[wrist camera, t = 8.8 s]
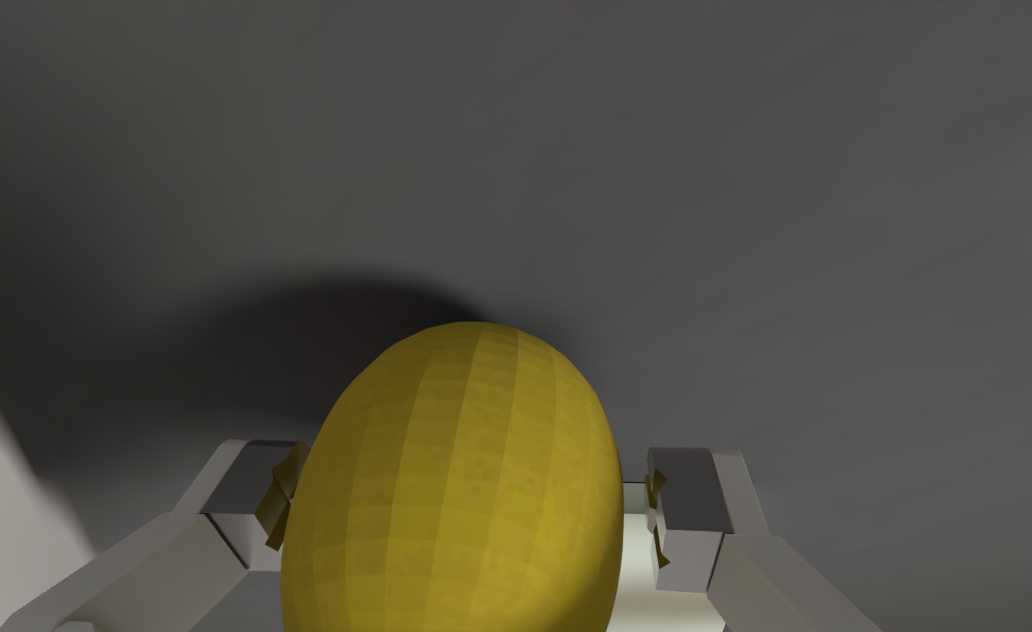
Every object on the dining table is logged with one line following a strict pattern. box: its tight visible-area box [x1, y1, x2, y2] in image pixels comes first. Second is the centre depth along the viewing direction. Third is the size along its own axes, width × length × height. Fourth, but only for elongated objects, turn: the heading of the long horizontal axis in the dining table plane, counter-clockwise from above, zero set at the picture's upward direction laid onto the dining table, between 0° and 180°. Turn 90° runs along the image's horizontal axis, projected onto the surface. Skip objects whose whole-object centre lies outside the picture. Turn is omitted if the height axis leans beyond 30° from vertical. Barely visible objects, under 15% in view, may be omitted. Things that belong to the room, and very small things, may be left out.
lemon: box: [280, 322, 624, 632], centre depth 9 cm, size 6×6×8 cm
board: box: [606, 483, 725, 632], centre depth 19 cm, size 17×14×1 cm
